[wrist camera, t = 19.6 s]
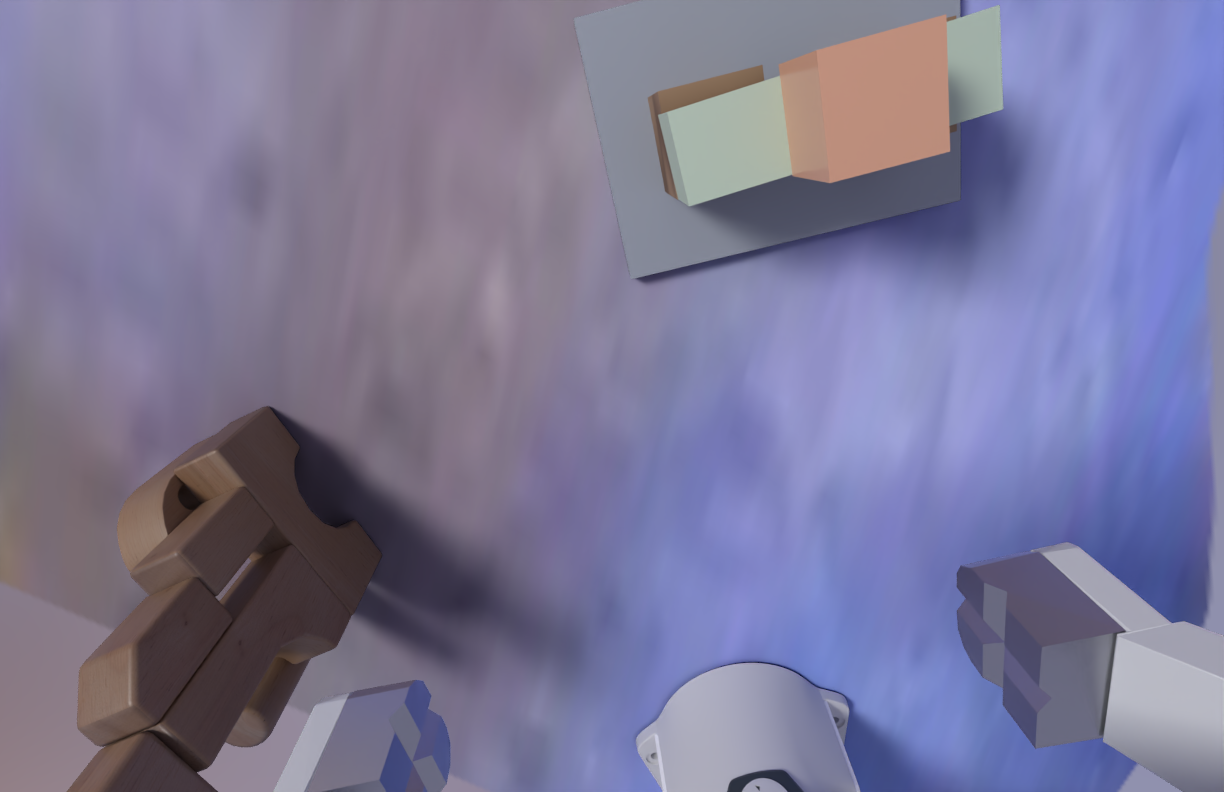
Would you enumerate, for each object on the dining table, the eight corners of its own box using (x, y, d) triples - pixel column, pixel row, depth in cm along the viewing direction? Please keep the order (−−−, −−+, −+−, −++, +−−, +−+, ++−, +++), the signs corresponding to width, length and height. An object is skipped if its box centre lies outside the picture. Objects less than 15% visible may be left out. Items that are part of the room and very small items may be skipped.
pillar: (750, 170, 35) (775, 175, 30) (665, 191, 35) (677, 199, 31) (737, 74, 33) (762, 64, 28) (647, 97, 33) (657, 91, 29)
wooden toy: (186, 442, 41) (-309, 823, 18) (268, 403, 41) (-144, 751, 18) (322, 602, 47) (72, 1044, 24) (396, 570, 46) (210, 998, 23)
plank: (957, 112, 29) (1003, 109, 26) (678, 199, 31) (689, 206, 27) (951, 20, 28) (999, 4, 25) (657, 115, 29) (667, 112, 26)
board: (949, 198, 37) (960, 200, 36) (629, 275, 38) (631, 279, 37) (946, -76, 32) (959, -84, 31) (573, 22, 33) (573, 18, 32)
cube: (893, 149, 27) (950, 151, 23) (792, 176, 27) (829, 183, 23) (886, 34, 25) (946, 14, 21) (778, 64, 25) (816, 50, 21)
